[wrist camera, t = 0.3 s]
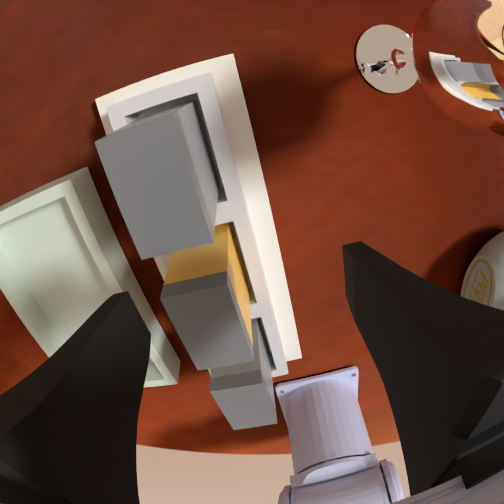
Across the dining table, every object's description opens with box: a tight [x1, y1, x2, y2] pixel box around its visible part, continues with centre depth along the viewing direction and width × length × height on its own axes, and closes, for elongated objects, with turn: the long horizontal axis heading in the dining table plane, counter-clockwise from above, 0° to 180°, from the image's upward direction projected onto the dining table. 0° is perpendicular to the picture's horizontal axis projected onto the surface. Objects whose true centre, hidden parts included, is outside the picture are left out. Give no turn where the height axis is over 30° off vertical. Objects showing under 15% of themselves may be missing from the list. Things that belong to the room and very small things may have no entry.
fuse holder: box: [95, 54, 302, 377], centre depth 20 cm, size 23×8×3 cm, turn 13°
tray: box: [0, 167, 181, 387], centre depth 21 cm, size 18×11×2 cm, turn 13°
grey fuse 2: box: [210, 318, 277, 430], centre depth 21 cm, size 5×3×7 cm, turn 13°
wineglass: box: [356, 0, 504, 139], centre depth 10 cm, size 6×6×12 cm
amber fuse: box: [160, 222, 254, 370], centre depth 18 cm, size 5×3×7 cm, turn 13°
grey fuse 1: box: [95, 100, 220, 260], centre depth 14 cm, size 5×3×7 cm, turn 13°
